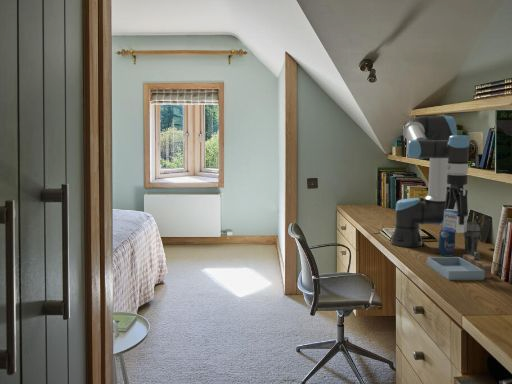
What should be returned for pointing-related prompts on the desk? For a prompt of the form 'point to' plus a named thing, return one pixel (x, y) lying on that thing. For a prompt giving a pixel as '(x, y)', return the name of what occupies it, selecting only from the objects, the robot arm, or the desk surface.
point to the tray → (455, 268)
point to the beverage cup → (471, 237)
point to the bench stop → (479, 263)
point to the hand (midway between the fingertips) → (454, 230)
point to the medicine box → (452, 220)
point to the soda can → (446, 243)
